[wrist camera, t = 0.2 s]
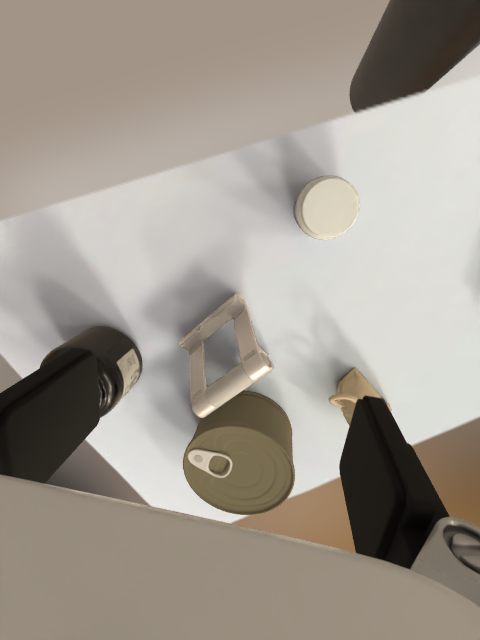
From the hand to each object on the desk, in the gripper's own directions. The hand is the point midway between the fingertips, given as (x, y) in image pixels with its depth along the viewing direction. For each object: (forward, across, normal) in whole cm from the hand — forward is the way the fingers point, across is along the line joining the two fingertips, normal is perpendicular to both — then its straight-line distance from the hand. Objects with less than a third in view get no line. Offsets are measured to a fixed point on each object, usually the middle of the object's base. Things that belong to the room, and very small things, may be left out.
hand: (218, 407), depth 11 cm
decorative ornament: (+23, -12, +12) cm, 29 cm away
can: (+23, 0, +20) cm, 30 cm away
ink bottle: (+23, +18, +13) cm, 32 cm away
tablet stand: (+23, +3, +8) cm, 25 cm away
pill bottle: (+23, -4, -7) cm, 25 cm away
